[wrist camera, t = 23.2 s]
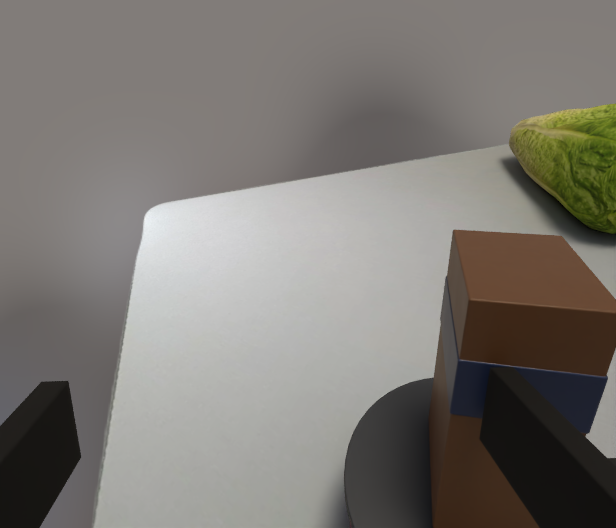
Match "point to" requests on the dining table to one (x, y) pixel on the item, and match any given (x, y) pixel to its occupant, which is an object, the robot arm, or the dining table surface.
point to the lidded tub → (391, 462)
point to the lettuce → (573, 160)
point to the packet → (510, 360)
